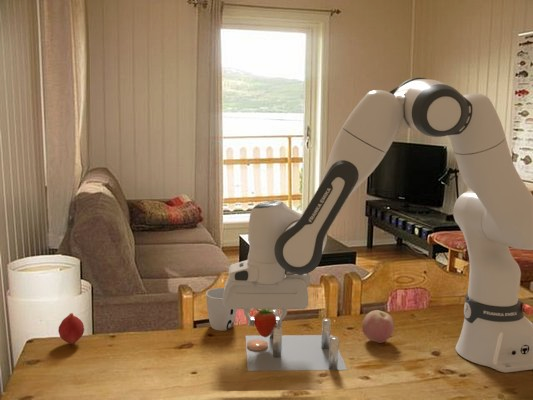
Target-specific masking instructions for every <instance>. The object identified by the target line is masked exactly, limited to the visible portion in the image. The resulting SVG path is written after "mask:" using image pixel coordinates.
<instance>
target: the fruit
mask: <svg viewBox="0 0 533 400" xmlns="http://www.w3.org/2000/svg"><path fill="white" fill-rule="evenodd" d="M270 310H271V309H255V311H257V312H256V313H255V315H254V316H253V317H254V327H255V329H256V330H257V333H258V334H259V335H261V336H263V337H268V336H269V335H270V334H271V333H272V331H273V327H274V326H275V325H276V317H275V315H274V314H273V312H271V311H270Z"/></svg>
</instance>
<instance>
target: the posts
mask: <svg viewBox="0 0 533 400" xmlns="http://www.w3.org/2000/svg"><path fill="white" fill-rule="evenodd" d="M270 311H271V312H273V314H274V315H275V317H279V309H271V310H270ZM321 320H322V321H321V335H322V342H321V348H322V349H329V367H328V368H329V369H331V370H330V371H337V370H336V369H337V368H338V349H339V348H340V347H339V345H340V338H339V337H338V336H334V335H333V336H332V337H330V335H331V328H332V327H331V324H332V320H331V319H330V318H323V319H321ZM282 335H283V325H282V326H276V325H275V326H274V327H273V331H272V333H271V334H270V338H272V339H273V357H275V358H279V357H281V350H282Z"/></svg>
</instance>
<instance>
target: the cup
mask: <svg viewBox="0 0 533 400" xmlns="http://www.w3.org/2000/svg"><path fill="white" fill-rule="evenodd" d="M223 293H224V287H216V288H211V289H208V290H207V291H206V292H205V295H206V309H207V315H208V320H209V322H208V323H210V327H211V329H213V330H216V331H221V332H222V331H228V330H231V329H232V328H233V326H234V325H235V324H234V323H235V321H236V314H237V310H238V309H225V308H224V306H223Z"/></svg>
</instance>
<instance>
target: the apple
mask: <svg viewBox="0 0 533 400" xmlns="http://www.w3.org/2000/svg"><path fill="white" fill-rule="evenodd" d="M361 329H362V332H363V334H364V336H365V337H366V338H367V339H368V340H370V341H373V342H375V343H376V344H377V343H378V344H381V343H384V342H386V341H387V340H389V339H390V338H391V337H392V335H393V332H394V330H395V321H394V318H393V317H392V316H391V315H390V314H389V313H387V312H385V311H382V310H379V309H375V310H374V309H373V310H372V311H369V312H368V313H367V314H365V317H364V318H363V321H362V328H361Z"/></svg>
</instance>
